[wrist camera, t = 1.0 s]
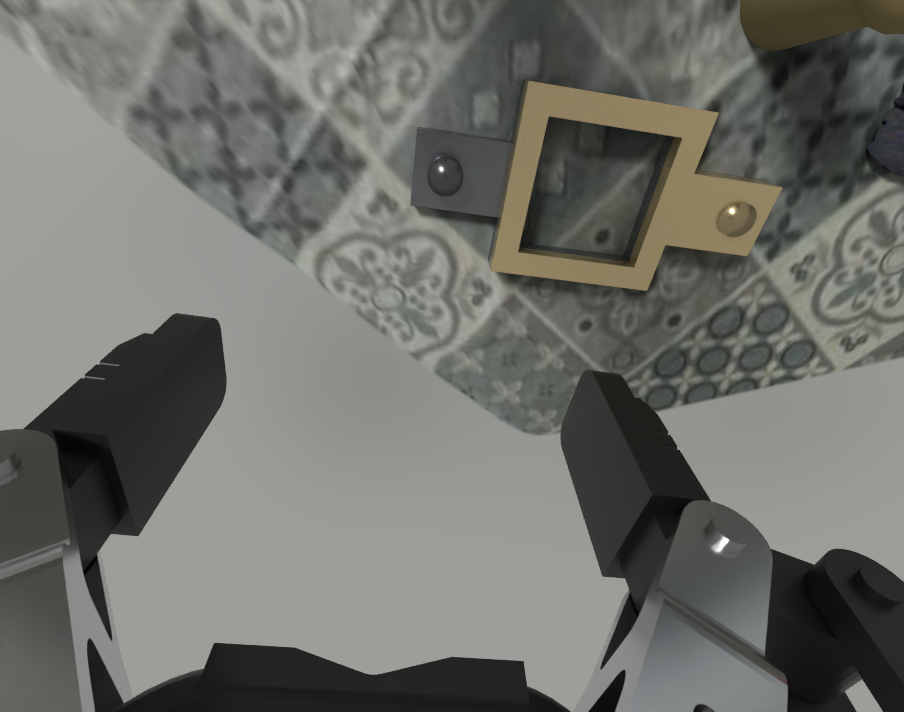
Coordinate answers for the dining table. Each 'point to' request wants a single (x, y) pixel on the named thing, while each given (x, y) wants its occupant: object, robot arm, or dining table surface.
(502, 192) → the chain end
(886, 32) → the brown rounded peg
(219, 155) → the dining table surface
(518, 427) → the dining table surface
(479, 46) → the dining table surface
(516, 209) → the chain end
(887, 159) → the crumpled black pouch
